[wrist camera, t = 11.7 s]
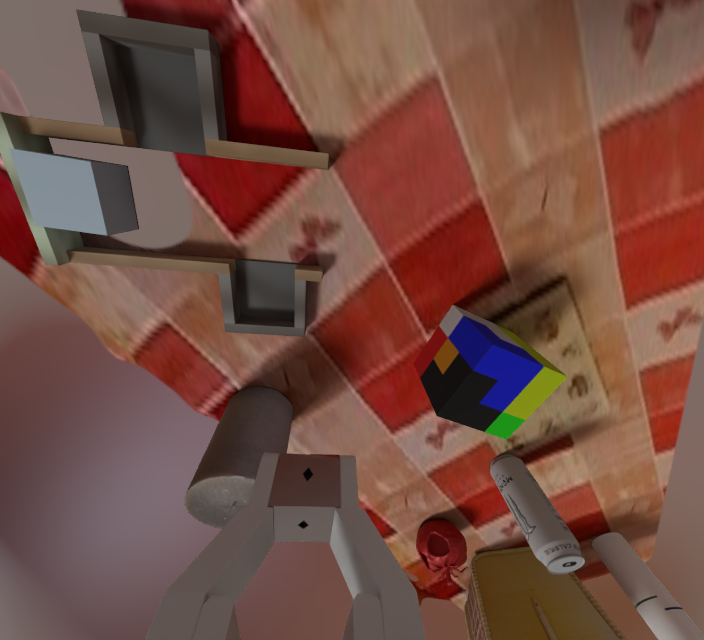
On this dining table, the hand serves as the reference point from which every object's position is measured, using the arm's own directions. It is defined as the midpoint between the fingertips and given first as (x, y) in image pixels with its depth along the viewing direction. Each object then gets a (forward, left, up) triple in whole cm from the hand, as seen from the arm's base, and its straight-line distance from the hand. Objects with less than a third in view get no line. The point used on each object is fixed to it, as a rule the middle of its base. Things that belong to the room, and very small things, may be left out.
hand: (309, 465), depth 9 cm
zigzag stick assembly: (-5, -14, -25) cm, 29 cm away
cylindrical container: (+61, +70, -26) cm, 97 cm away
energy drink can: (+34, +34, -26) cm, 55 cm away
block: (-6, -23, -26) cm, 35 cm away
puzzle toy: (+10, +19, -26) cm, 34 cm away
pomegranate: (+55, +26, -26) cm, 66 cm away
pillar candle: (+23, -9, -26) cm, 35 cm away
